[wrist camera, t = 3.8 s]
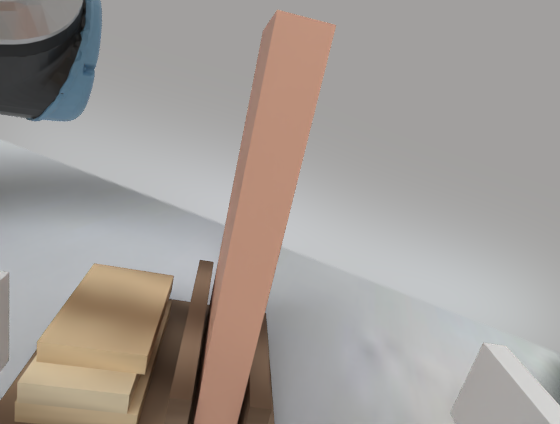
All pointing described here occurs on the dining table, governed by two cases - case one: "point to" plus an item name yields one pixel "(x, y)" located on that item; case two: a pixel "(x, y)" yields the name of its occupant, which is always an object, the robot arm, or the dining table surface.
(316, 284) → the dining table surface
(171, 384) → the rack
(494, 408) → the robot arm
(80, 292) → the offcut stack
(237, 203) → the sheet
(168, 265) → the dining table surface
